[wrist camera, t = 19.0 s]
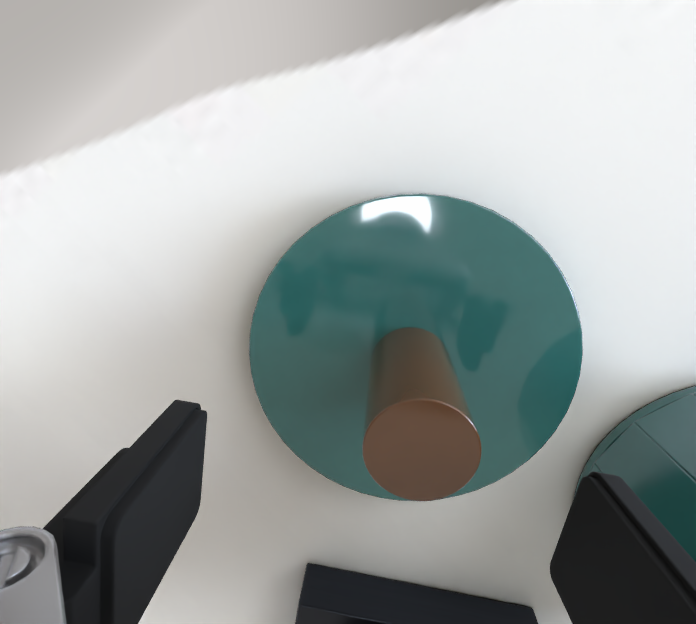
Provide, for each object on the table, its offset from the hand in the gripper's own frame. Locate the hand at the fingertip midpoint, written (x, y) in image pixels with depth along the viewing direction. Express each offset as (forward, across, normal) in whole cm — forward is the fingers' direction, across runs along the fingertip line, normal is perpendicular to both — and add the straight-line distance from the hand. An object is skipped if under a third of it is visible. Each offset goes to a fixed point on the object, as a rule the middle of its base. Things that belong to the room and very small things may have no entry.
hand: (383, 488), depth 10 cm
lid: (+7, -1, -1) cm, 7 cm away
